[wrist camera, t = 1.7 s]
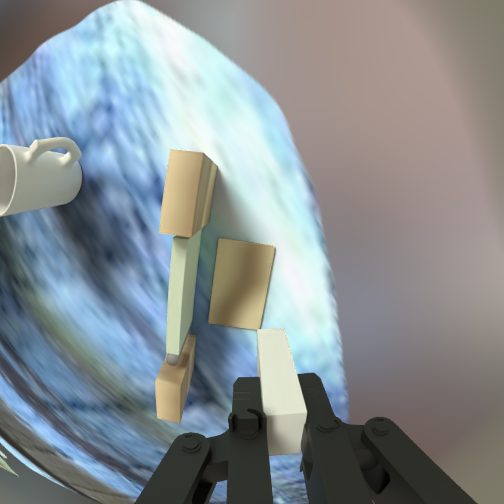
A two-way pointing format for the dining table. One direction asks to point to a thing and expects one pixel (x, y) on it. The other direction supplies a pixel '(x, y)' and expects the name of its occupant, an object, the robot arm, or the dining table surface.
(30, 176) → the mug
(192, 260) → the gate door
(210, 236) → the dining table surface
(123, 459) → the dining table surface
